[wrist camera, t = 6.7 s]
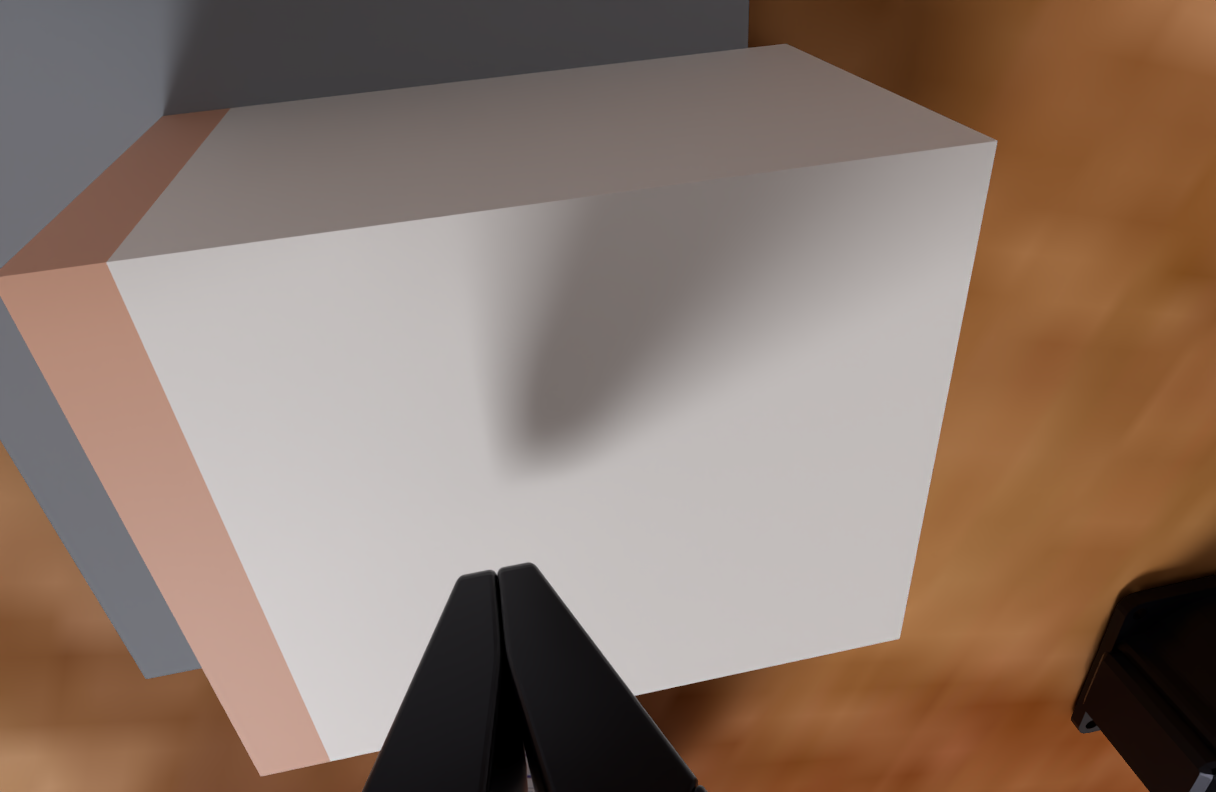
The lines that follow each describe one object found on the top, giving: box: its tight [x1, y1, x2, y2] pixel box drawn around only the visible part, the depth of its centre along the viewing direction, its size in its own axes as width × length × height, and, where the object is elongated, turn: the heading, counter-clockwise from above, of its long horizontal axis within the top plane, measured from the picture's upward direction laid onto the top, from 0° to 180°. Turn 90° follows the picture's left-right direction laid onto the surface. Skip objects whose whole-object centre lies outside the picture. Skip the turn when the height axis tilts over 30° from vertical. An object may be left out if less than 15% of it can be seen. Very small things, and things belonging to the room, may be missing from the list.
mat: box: [0, 0, 749, 679], centre depth 15 cm, size 14×16×1 cm
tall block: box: [0, 44, 997, 776], centre depth 13 cm, size 6×8×10 cm
